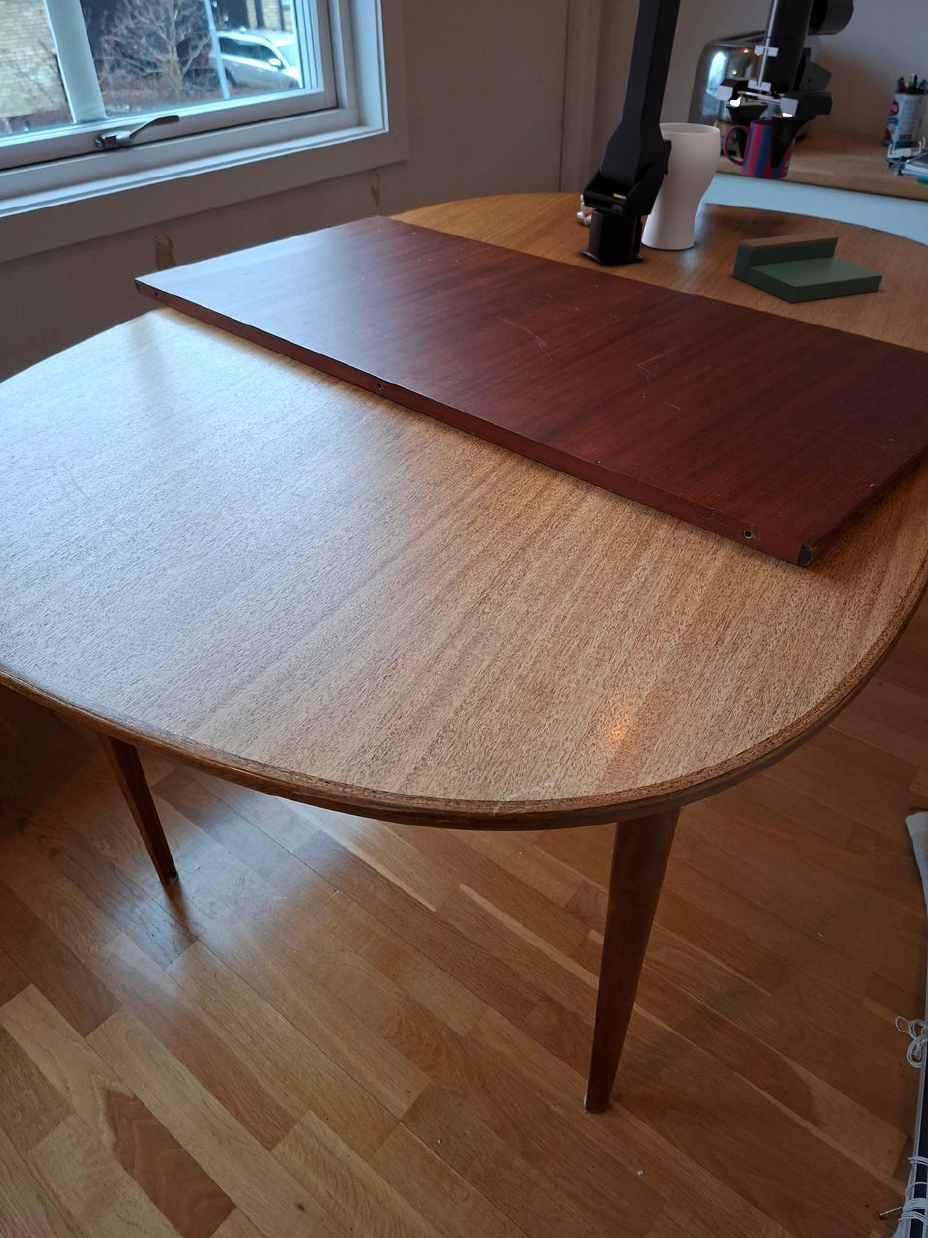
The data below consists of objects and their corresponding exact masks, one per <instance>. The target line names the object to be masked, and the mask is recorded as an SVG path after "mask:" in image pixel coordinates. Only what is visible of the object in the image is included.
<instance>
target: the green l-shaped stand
mask: <svg viewBox="0 0 928 1238" xmlns="http://www.w3.org/2000/svg"><path fill="white" fill-rule="evenodd" d="M838 241H839V236H838V235H835V234H832V233H830V232H826V231H824V230H823V231H815V232H804V233H796V234H785V235H778V236H777V235H776V236H769V237H760V238H751V239H742V240H739V241H738V246H737V251H736V255H735V256H736V257H735V261H734V266H733V269H732V270H733V271H732V277H734V278H736V279H738V280H740V281H743V282H745V283H747V284H749V285H752V286H754V287H756V288H758V289H760V290H762V291H764V292H767V293H769V294H771V295H773V296H776V297H778V298H780V299H782V300H784V301H786V302H789V303H790V304H795V303H801V302H808V301H815V300H822V299H828V298H829V299H830V298H835V297H843V296H850V295H855V294H856V295H858V294H864V293H865V294H866V293H871V292H877V291H879V289H880V285H881V283H882V279H883V274H882V273H878V272H876V271H874V270H871V269H868V268H866V267H862V266H860V265H857V264H855V263H852V262H850V261H847V260H844V259H841V258H839V257H836V256H835V252H836V248H837V245H838Z"/></svg>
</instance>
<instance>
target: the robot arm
mask: <svg viewBox="0 0 928 1238" xmlns="http://www.w3.org/2000/svg"><path fill="white" fill-rule="evenodd" d="M680 6H681V0H639V1H638V8H637V13H636V21H635V27H634V33H633V41H632V46H631V54H630V60H629V65H628V66H629V68H628V72H627V73H628V74H627V80H626V87H625V94H624V101H623V108H622V113H621V119H620V122H619V123H618V125H617V126H616V128H614V129H615V130H614V131H613V133H612V134H611V136H610V137H609V139H608V140H607V142H606V145H605V148H604V153H603V156H602V160H601V164H600V166H599V168H598V169H597V170H596V172H595V173H594V175H592V177H591V178H590V180H589V181H588V183H587V184H586V186H585V187H584V189H583V190H582V193H581V195H583V201H584V206H585V207H591V208H594V209H593V210H592V212H591V223H590V224H589V235H588V242H587V243H588V244H587V249H581V255H583V256H585V257H587V258H589V259H590V260H592V261H595V262H596V263H597V264H600V265H603V266H610V265H611V266H612V265H618V264H627V263H628V264H629V263H636V262H637V263H638V262H642V261H643V259H644V256H641V255H640V251H641V243H642V236H643V230H644V229H643V228H644V222H643V221H642V218H643V217H645V216H648V215H650V214H651V212H652V209H653V207H654V204H655V201H656V198H657V196H658V193H659V190H660V188H661V186H662V183H663V180H664V175H668V160H669V156H670V153H671V149H672V142H671V140H668V139H663V136H662V132H661V129H660V124H661V116H662V111H663V106H664V99H665V93H666V87H667V83H668V76H669V70H670V64H671V59H672V53H673V47H674V41H675V36H676V30H677V24H678V23H677V22H678V19H679V12H680ZM854 10H855V6H854V0H770V4H769V9H768V13H767V20H766V24H765V30H764V35H763V39H762V44H756V45H755V48H754V55H760V56H759V60H758V66H757V71H756V76H755V77H751V76H740V77H725V78H724V79H723V80H722V81H721V82H720V83H719V84H718V90H717V95H716V100H718V101H721V102H728V103H726V104H725V109H727V110H728V113H729V116H730V119H731V122H732V127H733V126H735V125H743V126H746V127H749V128H750V125H751V121H754V120H760V118H761V117H762V115H763V114H764V113H765V112H766V110H767V109H768V107H769V104H772V105H776V106H777V105H778V106H779V107H780V110H781V113H773V114H771V120H772V121H771V153H770V159H771V167H772V168H777V167H778V166H779V165H780V163H781V161H782V159H783V157H784V156H785V154H786V152H787V150H788V148H789V146H790V145H791V143H792V141H793V139H794V138H795V139H796V137H797V134H798V133H799V132H800V130H801V128H803V126H805V125H806V124H807V123H809V122H810V121H814V120H816V119H817V117H818V116H831V113H832V108H833V105H834V100H835V97H834V96H833V93H832V91H831V90H827V89H828V87H829V85H830V83H831V81H832V79H833V77H834V73H833V72H831V71H830V70H828V69H826V68H825V67H823V66H821V65H819V64H818V63H816V62H814V61H812V60H811V58H812V53H813V52H812V47H811V46H806V43H807V38H808V37H823V36H834V35H835V36H836V35H837V34H839V33H841V32H842V31H844V29H845V28H846V27H847V26H848V25H849V22H850V21H851V20H852V16H853V14H854ZM760 102H762V103H760ZM766 103H768V104H766ZM733 131H734V134H735V138H736V142H737V147H738V151H739V155H740V159H742V160H743V159H744V154H745V149H746V144H747V139H748V134H747V133H746V132H745V131H744V130H743V129H740V128H737V129H734V130H733ZM795 136H796V137H795ZM614 194H617V195H620V196H624V197H626V198H625V199H622V198H619V197H615V196H614ZM583 201H582V202H583Z"/></svg>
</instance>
